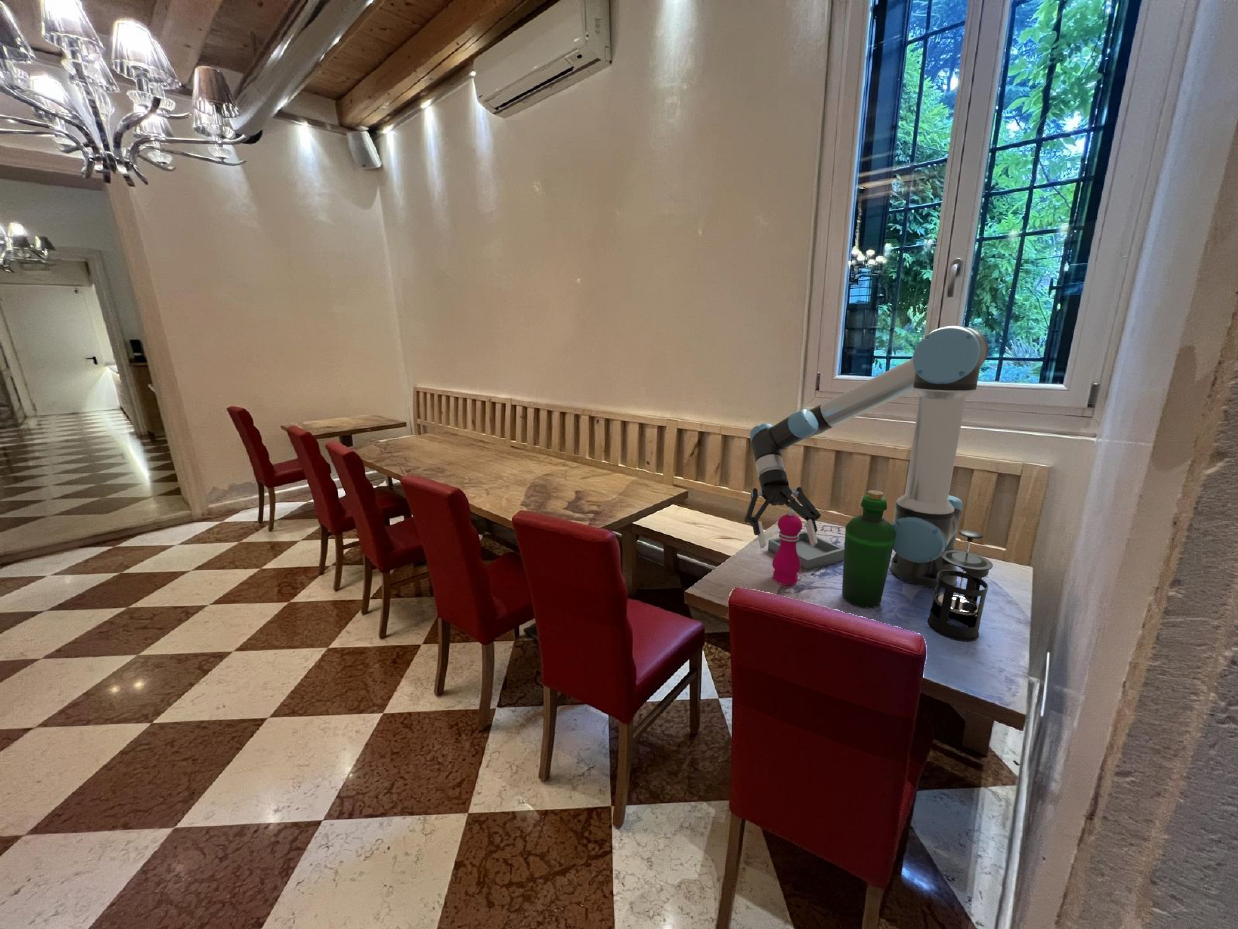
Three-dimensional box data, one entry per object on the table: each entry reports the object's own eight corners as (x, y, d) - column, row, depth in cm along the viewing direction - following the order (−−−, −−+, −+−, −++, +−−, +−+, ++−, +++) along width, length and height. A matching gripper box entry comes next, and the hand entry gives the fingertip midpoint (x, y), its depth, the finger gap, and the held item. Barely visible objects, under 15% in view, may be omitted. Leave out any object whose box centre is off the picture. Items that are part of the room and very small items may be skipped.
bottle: (883, 593, 116) (899, 488, 109) (888, 616, 107) (905, 502, 100) (836, 585, 121) (849, 483, 113) (837, 606, 111) (850, 496, 104)
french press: (961, 647, 96) (983, 546, 90) (916, 624, 104) (932, 529, 98) (992, 631, 101) (1014, 534, 95) (946, 610, 109) (963, 519, 103)
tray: (844, 560, 134) (845, 549, 133) (806, 571, 128) (807, 560, 127) (803, 541, 147) (804, 531, 146) (767, 550, 141) (768, 540, 140)
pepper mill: (801, 587, 120) (808, 515, 115) (772, 585, 121) (778, 514, 116) (797, 574, 127) (803, 505, 122) (769, 572, 128) (774, 504, 123)
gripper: (809, 479, 135) (829, 548, 124) (725, 481, 134) (738, 551, 123) (820, 466, 128) (841, 538, 118) (731, 468, 127) (745, 542, 116)
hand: (788, 545), depth 120 cm, fingers open, 13 cm apart
